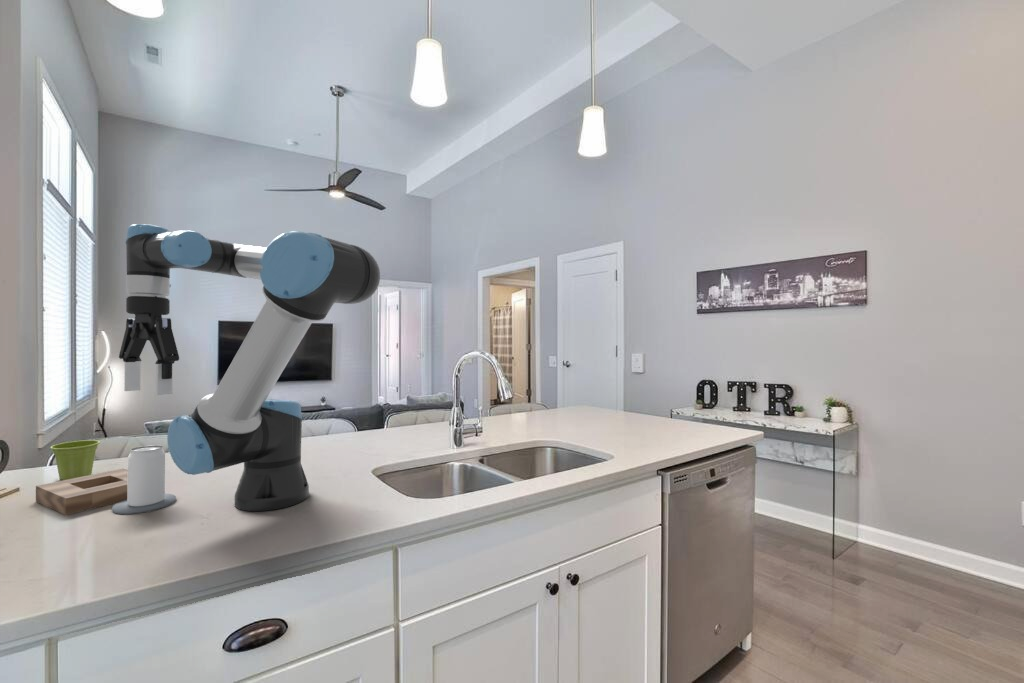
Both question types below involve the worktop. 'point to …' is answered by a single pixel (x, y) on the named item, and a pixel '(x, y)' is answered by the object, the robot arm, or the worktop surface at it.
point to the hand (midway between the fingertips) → (147, 392)
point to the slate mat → (126, 509)
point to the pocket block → (84, 492)
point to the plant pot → (75, 458)
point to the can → (146, 476)
